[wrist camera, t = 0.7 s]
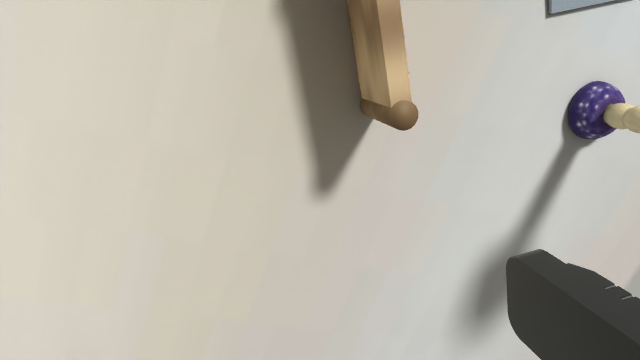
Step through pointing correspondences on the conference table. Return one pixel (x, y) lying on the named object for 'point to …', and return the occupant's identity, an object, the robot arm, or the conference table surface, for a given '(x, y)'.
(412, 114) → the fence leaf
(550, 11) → the card
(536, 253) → the robot arm
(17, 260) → the conference table surface
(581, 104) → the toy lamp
